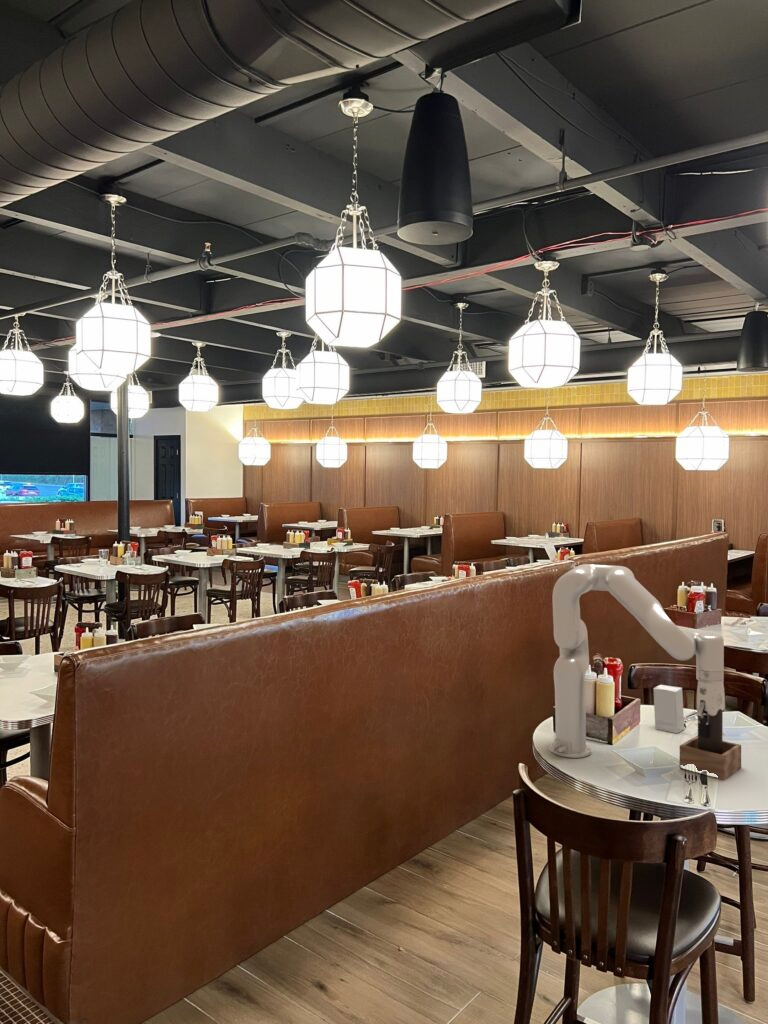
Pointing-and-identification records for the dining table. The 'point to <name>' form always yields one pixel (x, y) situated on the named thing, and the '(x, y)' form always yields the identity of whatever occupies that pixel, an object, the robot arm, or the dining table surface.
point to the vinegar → (712, 734)
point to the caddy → (712, 758)
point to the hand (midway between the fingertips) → (709, 733)
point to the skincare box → (668, 708)
